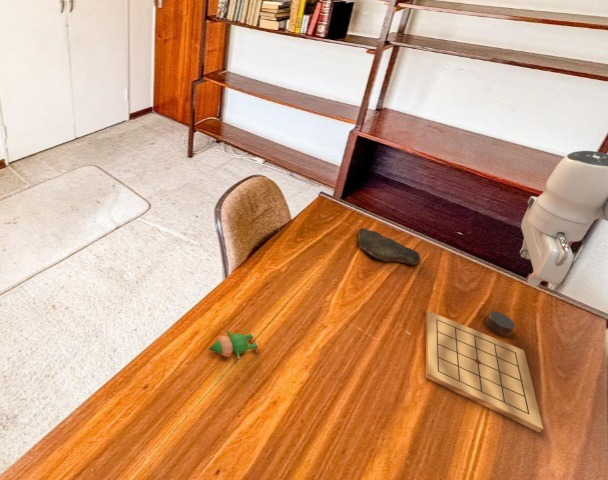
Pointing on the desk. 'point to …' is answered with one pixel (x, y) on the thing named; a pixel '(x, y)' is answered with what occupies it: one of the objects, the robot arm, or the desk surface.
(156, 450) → the desk surface
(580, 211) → the robot arm
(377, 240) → the stone
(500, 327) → the game stone
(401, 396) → the desk surface
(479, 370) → the go board
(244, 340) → the figurine
